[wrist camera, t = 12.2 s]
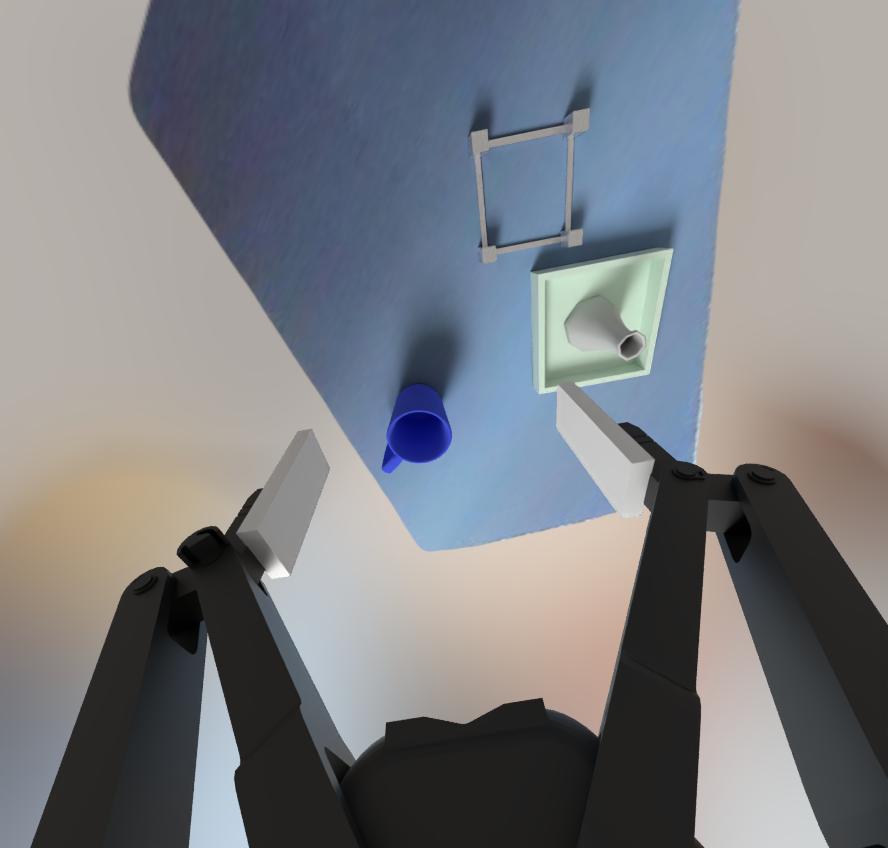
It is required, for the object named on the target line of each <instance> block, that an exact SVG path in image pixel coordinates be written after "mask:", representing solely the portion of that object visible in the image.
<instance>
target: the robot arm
mask: <svg viewBox="0 0 888 848" xmlns="http://www.w3.org/2000/svg"><path fill="white" fill-rule="evenodd" d="M556 428H557V429H558V431H559V432H560V434H561V435H562V436H563V438H564V439H565V441H566V442H567V443H568V445H569V446H570V448H571V449H572V450H573V452H574V453H575V454H576V456H577V457H578V459H579V460H580V461H581V463H582V464H583V466H584V467H585V468H586V470H587V471H588V473H589V474H590V475H591V477H592V478H593V480H594V481H595V482H596V484H597V485H598V487H599V488H600V489H601V491H602V492H603V494H604V495H605V496H606V498H607V499H608V501H609V502H610V503H611V505H612V506H613V508H614V509H615V510H616V512H617V513H618V514H619V516H620V517H621V518H622V519H623V518H629V517H635V516H640V515H642V511H643V507H644V504H645V506H646V507H647V508H648V509H649V510H650V512H651V515H650V519H649V523H648V526H647V530H646V536H645V540H644V545H643V549H642V553H641V557H640V562H639V566H638V570H637V574H636V579H635V583H634V587H633V591H632V596H631V600H630V604H629V609H628V613H627V617H626V621H625V626H624V630H623V634H622V639H621V643H620V647H619V652H618V656H617V660H616V664H615V669H614V673H613V677H612V681H611V686H610V691H609V694H608V698H607V702H606V706H605V710H604V714H603V718H602V722H601V727H600V731H599V736H598V737H597V736H596V735H595V734H594V733H592V732H591V731H590V730H589V729H588V728H586V727H585V726H584V725H582V724H581V723H579V722H578V721H576V720H575V719H573V718H571V717H569V716H567V715H565V714H562V713H559V712H557V711H554V710H549V709H545V706H544V702H543V699H542V698H538V699H532V700H525V701H519V702H513V703H507V704H503V705H501V706H499V707H498V708H495V709H494V710H492V711H490V712H488V713H486V714H484V715H482V716H480V717H479V718H477V719H475V720H473V721H471V722H469V723H467V724H458V723H454V722H449V721H444V720H439V719H433V718H428V717H419V718H412V719H406V720H400V721H393V722H387V723H386V732H385V736H383V737H381V738H380V739H379V740H377V741H376V742H375V743H373V744H372V745H371V746H370V747H369V748H368V749H367V750H366V751H365V752H363V753H362V754H361V756H360V757H359V758H358V759H357V760H355V758H354V757H353V755H352V754H351V752H350V751H349V749H348V748H347V746H346V745H345V743H344V742H343V740H342V738H341V737H340V735H339V733H338V731H337V729H336V727H335V725H334V723H333V721H332V719H331V717H330V715H329V713H328V711H327V709H326V707H325V705H324V703H323V701H322V699H321V697H320V695H319V693H318V691H317V689H316V687H315V685H314V683H313V681H312V679H311V677H310V675H309V673H308V671H307V669H306V667H305V665H304V663H303V661H302V659H301V657H300V655H299V653H298V651H297V649H296V647H295V645H294V643H293V641H292V639H291V637H290V635H289V633H288V631H287V629H286V627H285V625H284V623H283V621H282V619H281V617H280V615H279V613H278V611H277V609H276V607H275V605H274V603H273V601H272V599H271V597H270V595H269V593H268V591H267V589H266V587H265V585H264V583H263V582H262V581H261V580H260V579H261V577H262V575H263V573H264V571H266V572H267V574H268V575H269V576H270V577H271V579H274V578H280V577H285V576H291V573H292V570H293V567H294V565H295V562H296V559H297V556H298V554H299V551H300V549H301V546H302V543H303V540H304V538H305V535H306V532H307V530H308V527H309V524H310V521H311V518H312V516H313V513H314V511H315V508H316V505H317V502H318V500H319V497H320V495H321V492H322V489H323V487H324V484H325V481H326V478H327V476H328V473H329V470H330V467H329V465H328V463H327V461H326V459H325V456H324V454H323V452H322V450H321V448H320V446H319V443H318V441H317V439H316V437H315V435H314V433H313V431H312V429H308V430H303V431H298V432H297V433H296V435H295V437H294V439H293V440H292V442H291V443H290V445H289V447H288V448H287V450H286V452H285V453H284V455H283V456H282V458H281V460H280V461H279V463H278V465H277V466H276V468H275V470H274V471H273V473H272V475H271V476H270V478H269V480H268V481H267V483H266V485H265V486H264V488H261V489H257V491H255V492H254V493H253V494H252V495H251V496H250V497H249V498H248V499H247V501H246V502H245V504H244V505H243V507H242V509H241V510H240V512H239V513H238V517H236V518H235V520H234V521H233V523H232V524H231V526H230V527H229V529H228V530H227V532H226V534H225V535H224V534H223V533H222V532H221V531H220V529H219V528H218V527H216V526H210V527H205V528H202V529H201V530H198V531H197V532H195V533H193V534H192V535H190V536H189V537H188V538H186V539H185V540H184V541H183V542H182V543H181V545H180V546H179V548H178V549H177V555H178V557H179V558H180V559H182V561H183V562H184V563H185V564H186V565H187V566H188V567H187V568H184V569H182V570H179V571H177V572H175V573H171V572H169V571H168V570H167V569H166V568H164V567H157V568H154V569H151V570H149V571H147V572H145V573H143V574H142V575H140V576H139V577H138V578H136V579H135V580H134V581H133V582H131V584H130V585H129V586H128V587H127V588H126V589H125V591H124V592H123V594H122V596H121V599H120V601H119V604H118V607H117V610H116V612H115V615H114V618H113V621H112V623H111V626H110V629H109V632H108V635H107V637H106V640H105V643H104V646H103V648H102V651H101V654H100V657H99V660H98V663H97V665H96V668H95V671H94V673H93V676H92V679H91V682H90V684H89V687H88V690H87V693H86V695H85V698H84V701H83V704H82V707H81V709H80V712H79V715H78V718H77V721H76V723H75V726H74V729H73V731H72V734H71V737H70V740H69V742H68V745H67V748H66V751H65V754H64V756H63V759H62V762H61V765H60V767H59V771H58V773H57V776H56V778H55V781H54V784H53V787H52V790H51V792H50V795H49V798H48V801H47V804H46V806H45V809H44V812H43V815H42V817H41V820H40V823H39V826H38V828H37V831H36V834H35V837H34V839H33V842H32V845H31V848H189V837H190V825H191V815H192V803H193V792H194V781H195V769H196V757H197V746H198V735H199V724H200V712H201V701H202V690H203V679H204V667H205V654H206V644H207V633H208V636H209V640H210V644H211V648H212V651H213V655H214V659H215V663H216V667H217V670H218V674H219V678H220V682H221V686H222V690H223V693H224V697H225V701H226V705H227V709H228V713H229V716H230V720H231V724H232V728H233V732H234V736H235V739H236V743H237V747H238V751H239V755H240V766H239V767H238V768H237V769H236V771H235V776H234V781H235V788H236V793H237V798H238V802H239V806H240V810H241V815H242V819H243V823H244V827H245V832H246V836H247V839H248V844H249V848H704V847H703V846H702V845H701V844H700V843H699V841H698V840H697V839H696V838H695V837H694V834H695V816H696V797H697V779H698V759H699V742H700V723H701V703H700V698H699V696H698V694H697V692H696V676H697V662H698V645H699V631H700V617H701V602H702V587H703V572H704V558H705V543H706V542H705V541H706V531H711V532H716V535H717V537H718V540H719V543H720V546H721V549H722V552H723V555H724V558H725V561H726V563H727V566H728V569H729V572H730V575H731V578H732V581H733V583H734V587H735V590H736V592H737V595H738V598H739V601H740V604H741V607H742V610H743V613H744V616H745V618H746V621H747V624H748V627H749V630H750V633H751V635H752V639H753V641H754V644H755V647H756V650H757V653H758V656H759V659H760V662H761V664H762V668H763V671H764V673H765V676H766V679H767V682H768V685H769V688H770V691H771V694H772V696H773V699H774V702H775V705H776V708H777V711H778V714H779V717H780V720H781V723H782V725H783V728H784V731H785V734H786V737H787V740H788V743H789V746H790V749H791V751H792V754H793V757H794V760H795V763H796V766H797V769H798V772H799V775H800V777H801V780H802V783H803V786H804V789H805V792H806V794H807V797H808V799H809V802H810V804H811V807H812V809H813V812H814V815H815V817H816V820H817V822H818V825H819V827H820V829H821V831H822V833H823V835H824V838H825V840H826V842H827V844H828V846H829V848H888V625H887V623H886V622H885V620H884V619H883V617H882V616H881V614H880V613H879V611H878V610H877V608H876V607H875V606H874V604H873V602H872V601H871V599H870V598H869V596H868V595H867V594H866V592H865V590H864V589H863V587H862V586H861V584H860V583H859V582H858V580H857V579H856V577H855V576H854V574H853V573H852V571H851V570H850V568H849V567H848V565H847V564H846V562H845V561H844V559H843V558H842V556H841V555H840V553H839V552H838V550H837V549H836V547H835V546H834V544H833V543H832V541H831V540H830V538H829V537H828V536H827V534H826V532H825V531H824V530H823V528H822V527H821V525H820V524H819V522H818V521H817V519H816V518H815V516H814V515H813V513H812V512H811V510H810V509H809V507H808V506H807V504H806V503H805V501H804V500H803V498H802V497H801V495H800V494H799V493H798V491H797V490H796V488H795V486H794V485H793V483H792V482H791V481H790V479H789V478H788V477H787V476H786V475H785V474H783V473H781V472H780V471H778V470H776V469H774V468H771V467H768V466H765V465H759V464H743V465H740V466H738V467H737V468H736V470H735V472H734V474H733V475H724V474H708V473H707V472H706V471H705V470H704V469H702V468H701V467H699V466H697V465H695V464H692V463H688V462H682V461H677V460H676V459H674V458H673V457H672V456H671V455H670V454H669V453H668V452H666V451H665V450H664V449H663V448H662V447H661V446H660V445H658V444H657V443H656V442H654V440H653V439H652V438H650V437H649V436H647V434H646V433H645V432H644V431H642V430H641V429H640V428H639V427H637V426H635V425H632V424H630V423H628V422H625V423H619V424H617V423H616V422H615V421H614V420H613V419H612V418H610V417H609V416H608V415H607V414H606V413H605V412H604V411H603V410H602V409H601V408H600V407H599V406H598V405H597V404H596V403H595V402H594V401H593V400H592V399H591V398H589V397H588V396H587V395H586V394H585V393H584V392H583V391H582V390H581V389H580V388H579V387H578V386H577V385H576V384H575V383H574V382H573V381H570V382H564V383H559V384H558V385H557V423H556Z"/></svg>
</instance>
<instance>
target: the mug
mask: <svg viewBox="0 0 888 848" xmlns="http://www.w3.org/2000/svg"><path fill="white" fill-rule="evenodd" d="M451 439H452V432H451V428H450V425H449V421H448V418H447V415H446V412H445V409H444V406H443V403H442V400H441V397H440V396H439V394H438V393H437V392H436V391H435V390H434V389H433V388H431V387H429V386H427V385H423V384H415V385H411V386H409V387H407V388H405V389H404V390H403V391H402V392H401V393H400V394H399V396H398V398H397V400H396V404H395V407H394V410H393V413H392V417H391V420H390V423H389V427H388V430H387V441H388V444H387V447H386V451H385V455H384V459H383V463H382V470H383V471H384V472H386V473H391V472H392V471H393V470H394V469H395V468H396V467H397V466H398V465H399V464H400V463H401V462H402V460H405V461H408V462H412V463H426V462H430V461H433V460H435V459H437V458H439V457H440V456H442V455H443V454H444V453H445V452H446V451H447V449H448V448H449V446H450V443H451Z"/></svg>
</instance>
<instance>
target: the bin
mask: <svg viewBox="0 0 888 848" xmlns="http://www.w3.org/2000/svg"><path fill="white" fill-rule="evenodd" d="M672 254H673V248H652V249H647V250H642V251H636V252H631V253H626V254H621V255H616V256H610V257H605V258H600V259H595V260H590V261H584V262H579V263H574V264H569V265H564V266H558V267H553V268H548V269H543V270H538V271H533V272H530V275H531V326H532V378H533V387H534V388H535V389H536V391H537V392H538V393H539V394H543V393H549V392H554V391H557V385H558V384H559V383H564V382H570V381H573V382H574V383H575V384H576V385H577V386H578V387H582V386H587V385H593V384H598V383H604V382H609V381H614V380H620V379H625V378H631V377H636V376H642V375H647V374H650V368H651V363H652V358H653V353H654V348H655V342H656V337H657V332H658V327H659V322H660V316H661V311H662V306H663V301H664V296H665V290H666V285H667V280H668V275H669V270H670V264H671V259H672ZM597 295H601V296H602V297H603V298H605V299H606V300H608V301H609V302H610V303H612V304H613V305H615V307H616V309H617V311H618V313H619V315H620V317H621V319H622V321H623V323H624V324H625V326H626V327H627V328H628V329H629V330H630V331H634V330H637V331H639V332H640V333H642V334H643V335H645V336H646V348H645V349H644V350H643V351H642V352H641V353H640V354H639V356H637V357H635V358H632V359H630V360H628V361H626V360H625V359H623V358H621V357H620V356H618V355H617V352H614V351H610V350H605V351H589V352H583V351H581V350H580V349H578V348H576V347H575V346H573V345H571V344H570V343H568V339H567V335H566V331H565V327H564V323H565V321H566V320H567V319H568V317H569V316H570V314H571V313H572V312H573V310H574V309H575V307H576V306H577V305H578V304H579V303H582V302H584V301H586V300H588V299H590V298H593V297H595V296H597Z"/></svg>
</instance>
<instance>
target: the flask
mask: <svg viewBox="0 0 888 848" xmlns="http://www.w3.org/2000/svg"><path fill="white" fill-rule="evenodd" d="M564 327H565V331H566V335H567V339H568V343H570V344H571V345H573V346H575V347H576V348H578V349H580V350H581V351H583V352H589V351H605V350H610V351H614V352H617V355H618V356H620V357H621V358H623V359H625V360H626V361H628V360H630V359H632V358H635V357H637V356H639V354H640V353H641V352H642V351H643V350H644V349H645V348H646V336H645V335H643V334H642V333H640V332H639V331H637V330H634V331H630V330H629V329H628V328H627V327H626V326H625V324H624V323H623V321H622V319H621V317H620V315H619V313H618V311H617V309H616V307H615V305H613V304H612V303H610V302H609V301H608V300H606V299H605V298H603V297H602V296H601V295H597V296H595V297H593V298H590V299H588V300H586V301H584V302H582V303H579V304H578V305H577V306H576V307H575V309H574V310H573V312H572V313H571V314H570V316H569V317H568V319H567V320H566V321H565V323H564Z"/></svg>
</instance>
